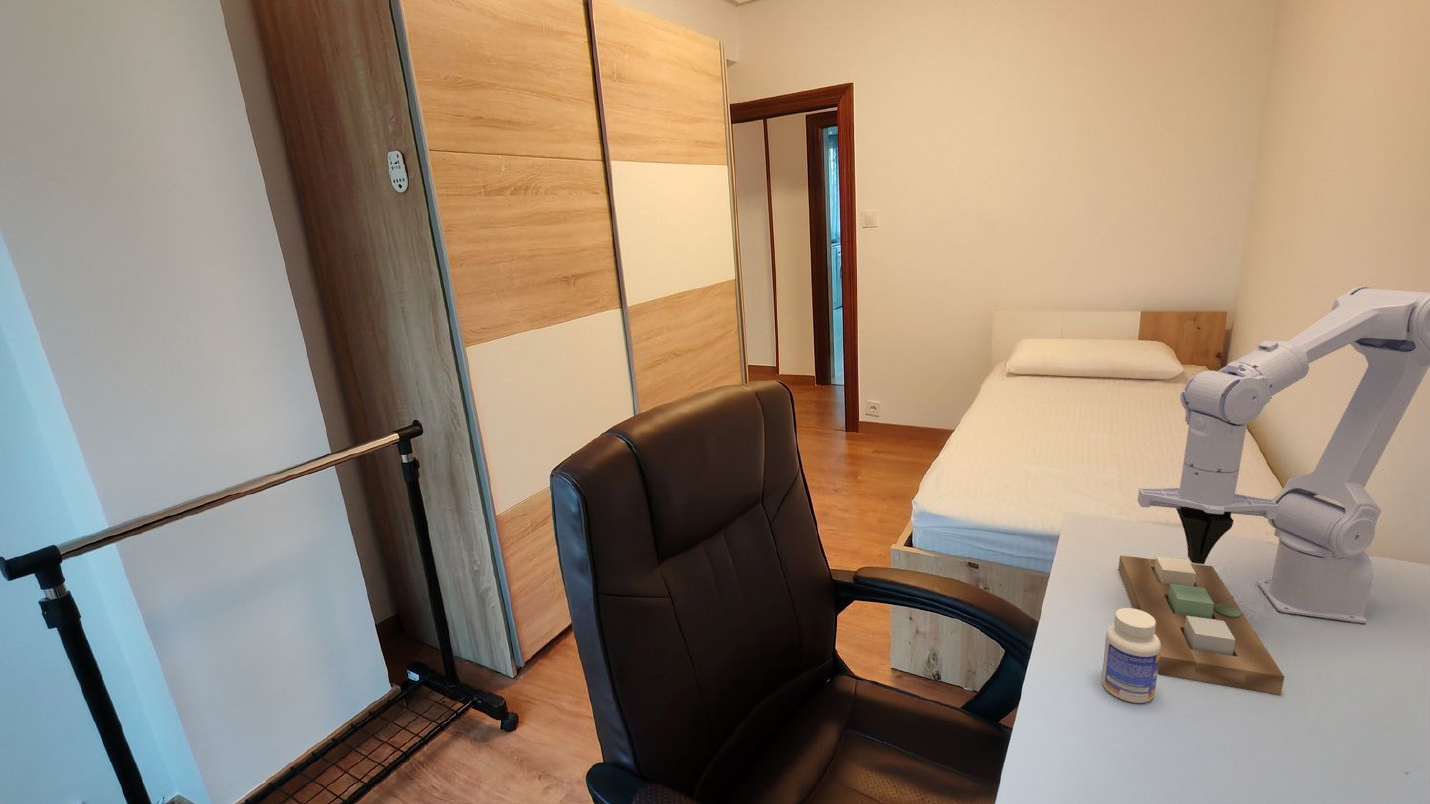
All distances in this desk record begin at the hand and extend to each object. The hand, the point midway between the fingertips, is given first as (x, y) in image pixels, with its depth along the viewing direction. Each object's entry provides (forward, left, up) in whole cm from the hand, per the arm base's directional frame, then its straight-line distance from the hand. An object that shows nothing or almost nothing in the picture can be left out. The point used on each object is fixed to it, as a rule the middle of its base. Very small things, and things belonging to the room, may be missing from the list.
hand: (1195, 560), depth 86 cm
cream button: (0, -8, -8) cm, 11 cm away
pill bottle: (+10, +17, -10) cm, 22 cm away
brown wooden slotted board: (0, 0, -9) cm, 9 cm away
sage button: (0, 0, -8) cm, 8 cm away
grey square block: (0, +8, -8) cm, 11 cm away
